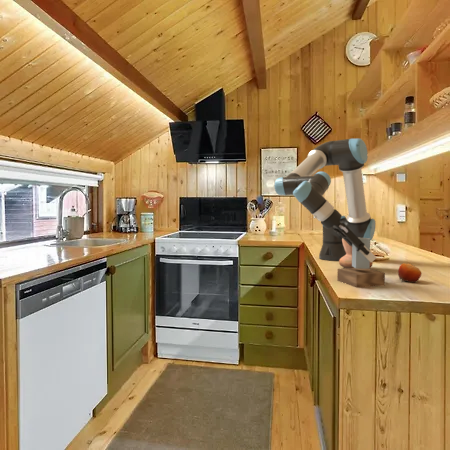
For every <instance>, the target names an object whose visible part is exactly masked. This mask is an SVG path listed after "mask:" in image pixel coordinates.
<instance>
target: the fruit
mask: <svg viewBox="0 0 450 450" xmlns="http://www.w3.org/2000/svg"><path fill="white" fill-rule="evenodd" d="M397 274H398V277H399V278H398V279H399V280H400V281H401V283H403V282H408V283H409V282H410V283H416V282H418V281H419V279H420V278H421V276H422V271H421V270H420V268H418V267H417V266H415V265H412V264H411V263H405V262H403V263H401V264H400V265H399V268H398V270H397Z"/></svg>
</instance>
